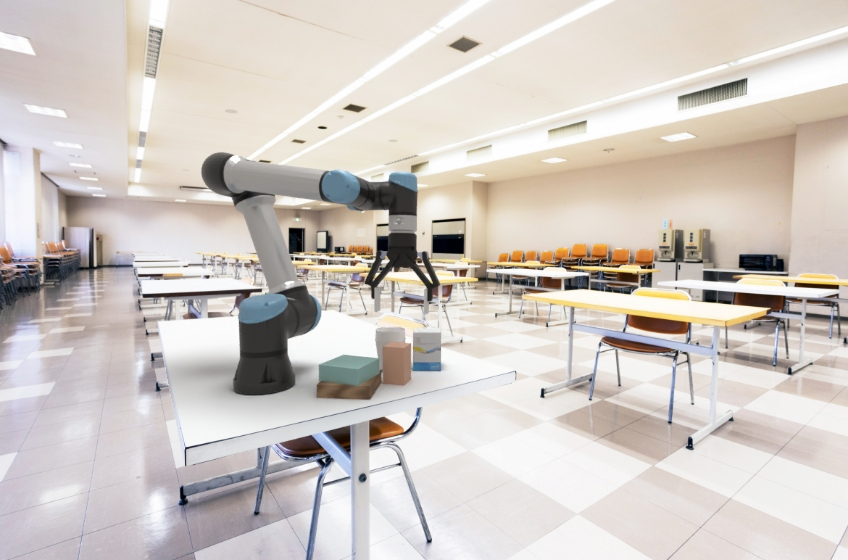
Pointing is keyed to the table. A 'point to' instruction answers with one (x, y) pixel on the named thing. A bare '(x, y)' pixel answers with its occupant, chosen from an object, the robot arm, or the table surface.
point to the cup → (388, 339)
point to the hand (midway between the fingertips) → (401, 312)
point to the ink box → (427, 349)
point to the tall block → (397, 363)
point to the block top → (349, 369)
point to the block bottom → (349, 389)
